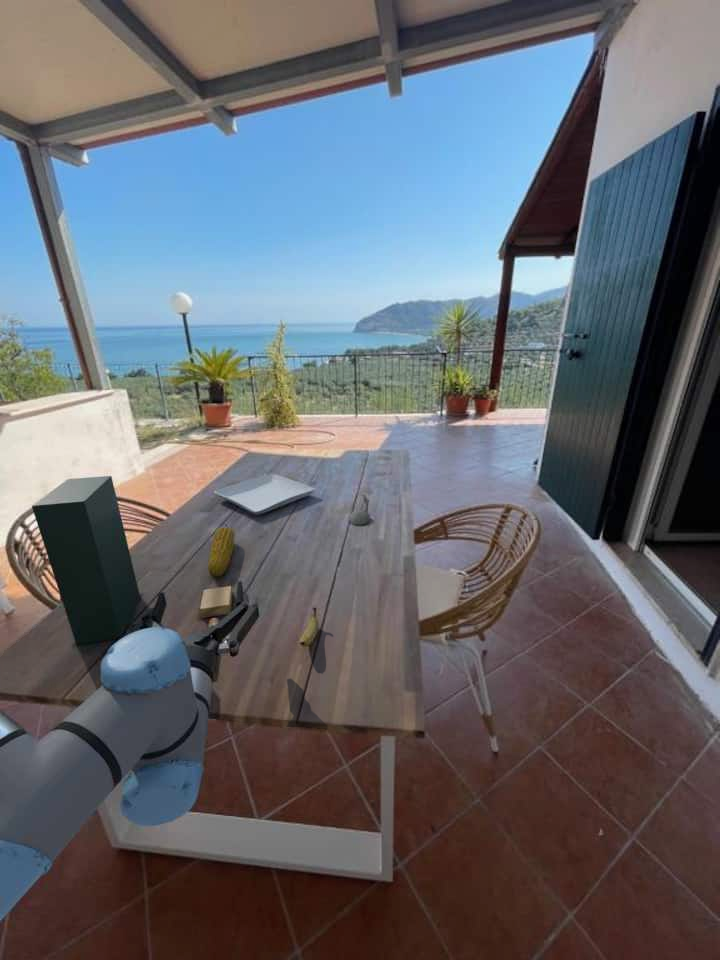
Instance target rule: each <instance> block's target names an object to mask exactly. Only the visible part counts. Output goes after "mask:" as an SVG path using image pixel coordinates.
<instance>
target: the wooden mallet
mask: <svg viewBox="0 0 720 960" xmlns="http://www.w3.org/2000/svg"><path fill="white" fill-rule="evenodd" d="M232 601H233V589H232V586H231V585H229V586H221V587H215V588H207V589H204V590H203V593H202V598H201V602H200V607H199V611H200V612H199V613H200V617H201V619H204V618H211V619H210V620H209V621H208V626H207V629H208V628H209V627H210V626H212V625H216V624H217V623H219V622H220V620H219V619H218V618H217V616H223V615H228V614H229V613H231V612H232V603H233V602H232ZM211 637H212V636H211Z"/></svg>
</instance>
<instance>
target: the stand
mask: <svg viewBox="0 0 720 960" xmlns="http://www.w3.org/2000/svg"><path fill="white" fill-rule="evenodd" d="M31 508H32V511H33V515H34V519H35V522H36V523H37V524H36V525H37V527H38V530H39V533H40V537H41V539H42V543H43V545H44V549H45V552H46V555H47V558H48V561H49V565H50V568H51V571H52V573H53V577H54V580H55V583H56V586H57V589H58V592H59V595H60V598H61V601H62V604H63V605H62V606H63V608H64V611H65V614H66V617H67V620H68V623H69V626H70V630H71V633H72V635H73V639H74V642H75V645H76V646H77V645H78V646H79V645H83V644H84V645H85V644H90V643H97V642H102V641H103V642H104V641H108V640H114V639H122V638H123V637H122V636H123V634H124V632H125V630H126V627H127V626H128V623H129V621H130V619H131V616H132V614H133V612H134V610H135V608H136V606H137V603H138V601H139V599H140V597H141V595H140V591H139V586H138V582H137V578H136V574H135V573H136V572H135V569H134V565H133V561H132V556H131V553H130V548H129V544H128V541H127V535H126V531H125V527H124V524H123V519H122V515H121V511H120V507H119V502H118V499H117V494H116V489H115V486H114V482H113V477H112V475H103V476H92V477H78V478H67V479H66V480H64V481H63V482H62V483H60V484H59V485H58V486H56V487H55V488H54V489H53V490H51V491H49V493H46V495H44V496H43V497H42V498H40V499H39V500H38V501H36V502H35V503H33V504H32V505H31Z"/></svg>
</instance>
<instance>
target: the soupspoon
mask: <svg viewBox="0 0 720 960" xmlns="http://www.w3.org/2000/svg"><path fill="white" fill-rule="evenodd" d="M362 496H363V497H362ZM362 496H361V502H360V506H359V510H354V511H353V512H351V513H350V515H349V521H350V522H351V523H352V524H353V525H355V526H363V525H366V524H368V523H369V521H370V517H371V516H370V514H369V512H368V511H365V510H363V509H364V508H363V507H364V502H365V500H367V499H368V496H367V495H366V494H363V495H362ZM366 496H367V497H366ZM365 497H366V498H365ZM364 499H365V500H364Z"/></svg>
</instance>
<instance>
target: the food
mask: <svg viewBox="0 0 720 960" xmlns="http://www.w3.org/2000/svg"><path fill="white" fill-rule="evenodd" d="M234 543H235V533H234V530H233V529H232V528H231V527H229V526H220V527H219V528H218V529H216V531H215V533H214V534H213V540H212V543H211V548H210V553H209V556H208V565H207V566H208V572H209V574H210V576H213V577H214V578H217V577H221V576H222V575H223V574H224V573H225V572H226V571H227V569H228V566H229V564H230V561H231V559H232V554H233V550H234Z"/></svg>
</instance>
